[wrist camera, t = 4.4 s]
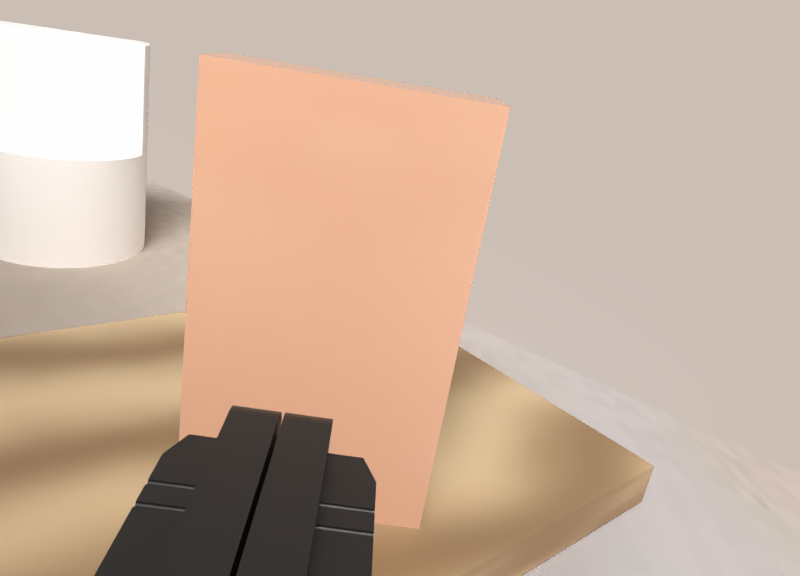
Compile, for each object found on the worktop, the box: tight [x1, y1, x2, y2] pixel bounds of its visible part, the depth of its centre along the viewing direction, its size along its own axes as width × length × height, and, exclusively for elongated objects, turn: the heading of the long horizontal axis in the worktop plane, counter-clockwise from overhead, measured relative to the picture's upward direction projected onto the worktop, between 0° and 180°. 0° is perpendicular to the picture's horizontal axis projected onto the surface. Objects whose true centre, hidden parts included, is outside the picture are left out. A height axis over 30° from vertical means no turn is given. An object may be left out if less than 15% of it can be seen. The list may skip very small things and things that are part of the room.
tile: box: [179, 52, 510, 529], centre depth 18 cm, size 2×7×12 cm, turn 90°
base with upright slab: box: [0, 21, 150, 268], centre depth 38 cm, size 9×9×12 cm
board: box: [0, 312, 654, 576], centre depth 24 cm, size 18×20×2 cm
